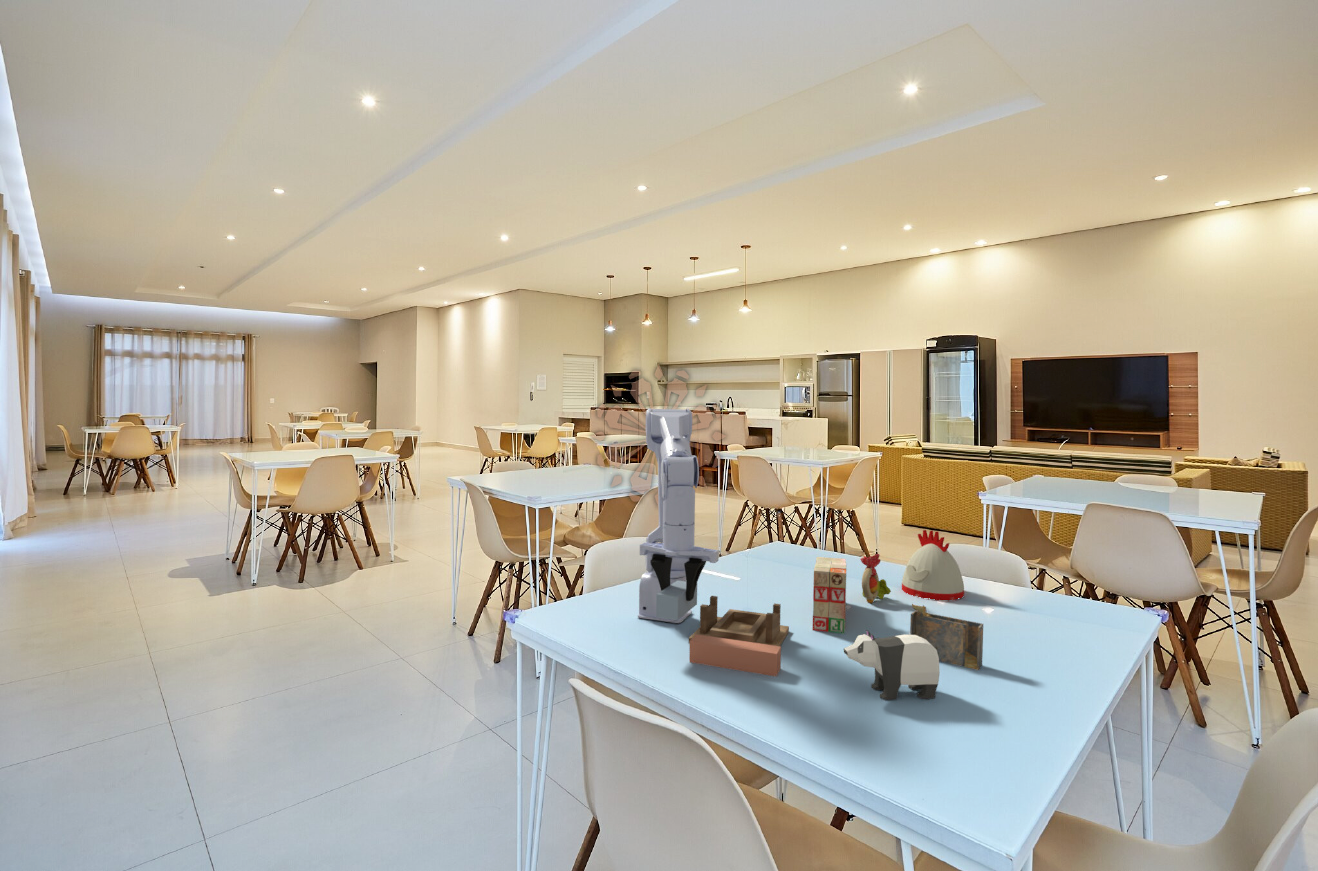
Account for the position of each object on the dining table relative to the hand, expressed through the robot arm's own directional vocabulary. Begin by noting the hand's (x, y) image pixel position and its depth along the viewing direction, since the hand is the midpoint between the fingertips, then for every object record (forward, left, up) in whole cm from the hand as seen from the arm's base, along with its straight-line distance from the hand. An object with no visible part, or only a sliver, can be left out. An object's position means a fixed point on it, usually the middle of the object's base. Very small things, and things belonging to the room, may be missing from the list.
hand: (677, 597), depth 115 cm
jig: (+9, +10, -9) cm, 17 cm away
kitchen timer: (+44, +59, -10) cm, 75 cm away
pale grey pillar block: (0, 0, -2) cm, 2 cm away
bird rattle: (+31, +46, -10) cm, 57 cm away
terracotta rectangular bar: (+12, -3, -10) cm, 15 cm away
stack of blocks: (+23, +31, -10) cm, 40 cm away
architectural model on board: (+45, +14, -10) cm, 48 cm away
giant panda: (+37, -4, -10) cm, 38 cm away
